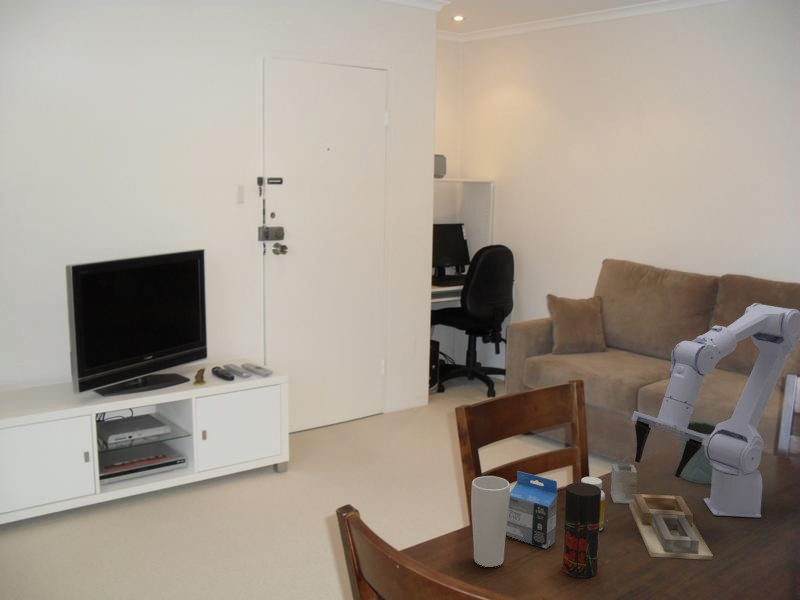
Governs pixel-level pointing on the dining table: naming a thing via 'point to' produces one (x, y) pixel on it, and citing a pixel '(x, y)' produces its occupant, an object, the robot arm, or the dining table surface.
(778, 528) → the dining table surface
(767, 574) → the dining table surface
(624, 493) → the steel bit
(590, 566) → the deodorant
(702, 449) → the green plant pot
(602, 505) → the supplement bottle
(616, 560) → the dining table surface
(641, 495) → the socket board
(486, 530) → the drinking glass
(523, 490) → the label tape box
